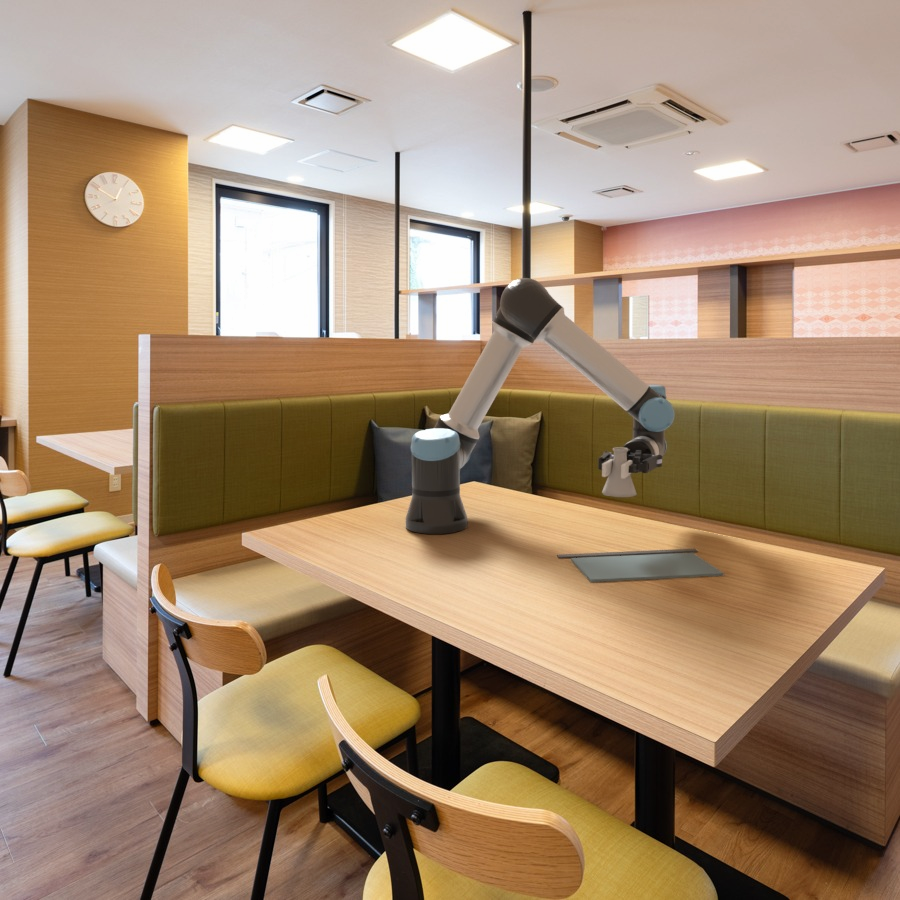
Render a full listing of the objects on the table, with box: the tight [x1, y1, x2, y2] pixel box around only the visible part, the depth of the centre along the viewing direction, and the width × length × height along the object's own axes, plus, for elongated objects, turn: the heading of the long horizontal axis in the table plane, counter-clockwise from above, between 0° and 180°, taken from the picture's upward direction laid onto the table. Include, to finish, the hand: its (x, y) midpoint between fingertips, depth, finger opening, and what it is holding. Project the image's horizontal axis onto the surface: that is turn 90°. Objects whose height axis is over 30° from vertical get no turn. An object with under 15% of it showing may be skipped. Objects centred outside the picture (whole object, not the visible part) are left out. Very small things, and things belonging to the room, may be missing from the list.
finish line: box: [556, 548, 699, 559], centre depth 142 cm, size 30×2×1 cm, turn 96°
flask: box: [601, 446, 638, 498], centre depth 142 cm, size 7×7×10 cm
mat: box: [570, 552, 725, 583], centre depth 133 cm, size 26×13×1 cm, turn 96°
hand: (613, 471), depth 137 cm, fingers closed on flask, 3 cm apart
